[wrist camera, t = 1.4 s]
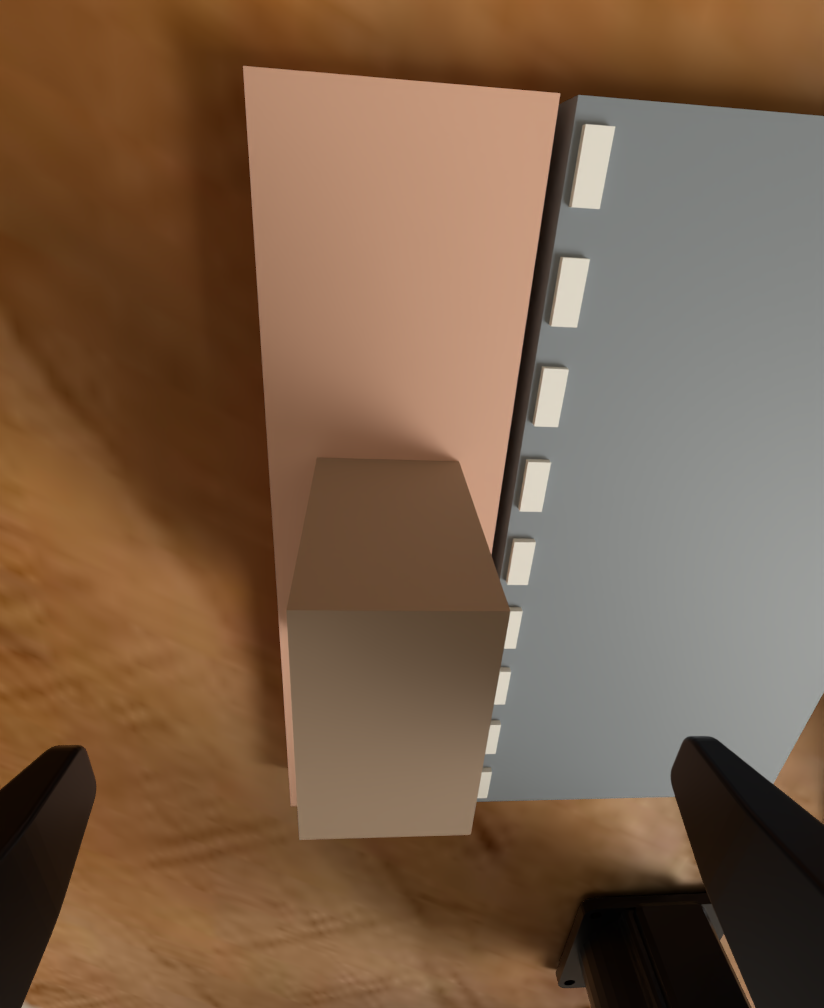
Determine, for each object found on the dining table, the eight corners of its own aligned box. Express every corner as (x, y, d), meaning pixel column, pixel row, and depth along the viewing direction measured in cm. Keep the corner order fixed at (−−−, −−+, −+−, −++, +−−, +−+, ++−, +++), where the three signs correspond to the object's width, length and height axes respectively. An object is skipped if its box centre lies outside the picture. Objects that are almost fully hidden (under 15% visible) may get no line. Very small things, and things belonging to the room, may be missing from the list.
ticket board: (745, 762, 20) (770, 799, 18) (458, 767, 19) (464, 806, 17) (1055, 147, 11) (1137, 141, 10) (556, 105, 10) (581, 93, 9)
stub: (449, 768, 19) (482, 1002, 13) (295, 770, 18) (263, 1015, 13) (540, 104, 10) (737, -2, 5) (256, 80, 10) (114, -68, 4)
